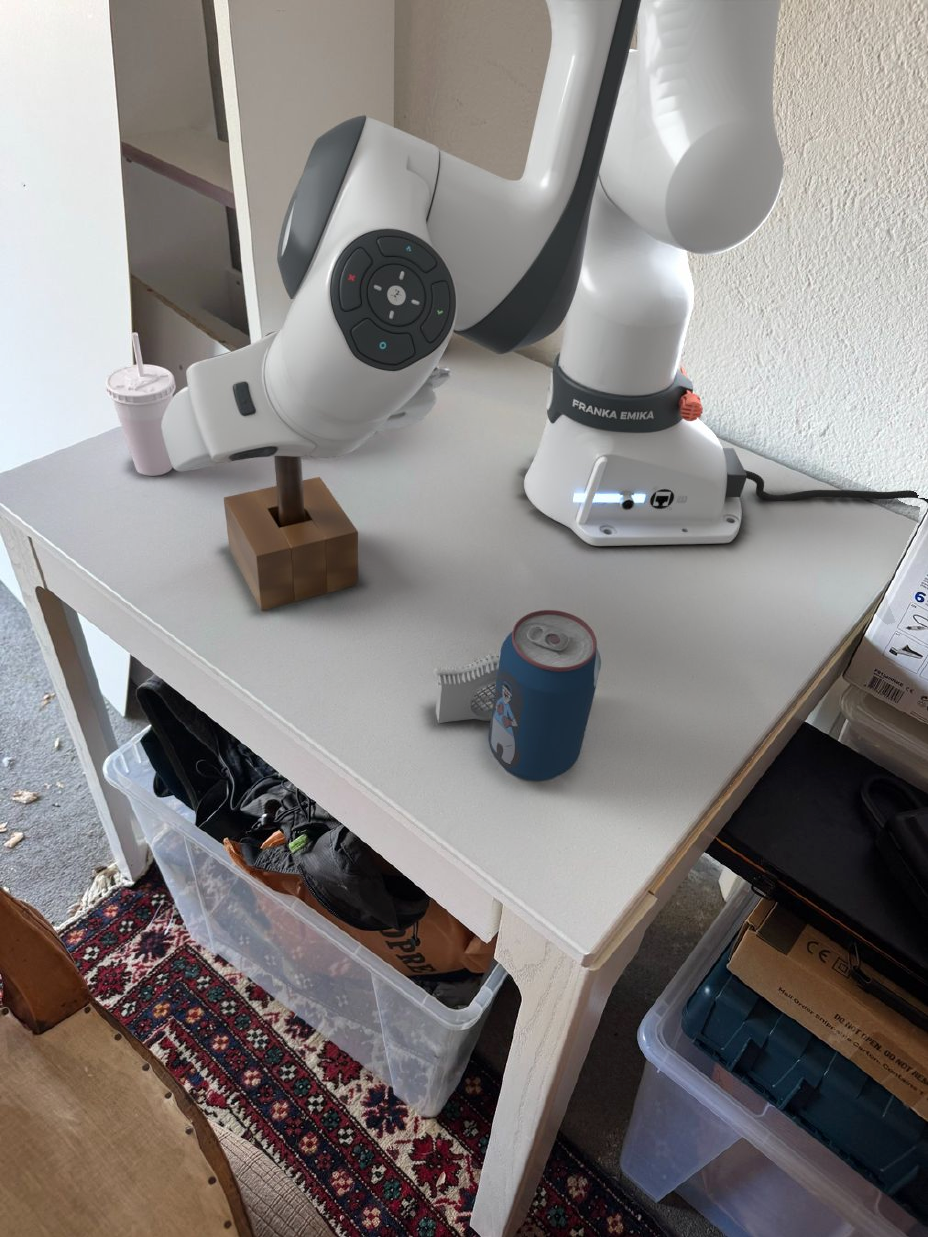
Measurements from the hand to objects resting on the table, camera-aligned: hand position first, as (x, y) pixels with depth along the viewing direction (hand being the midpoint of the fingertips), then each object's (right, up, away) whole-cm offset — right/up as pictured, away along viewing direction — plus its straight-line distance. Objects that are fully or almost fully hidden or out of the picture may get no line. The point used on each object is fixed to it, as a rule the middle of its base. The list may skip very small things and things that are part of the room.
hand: (284, 441), depth 76 cm
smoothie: (-17, +1, +19) cm, 25 cm away
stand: (-1, -10, +8) cm, 13 cm away
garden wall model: (+18, -22, -3) cm, 29 cm away
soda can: (+20, -25, -6) cm, 32 cm away
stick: (-1, -10, +8) cm, 13 cm away
